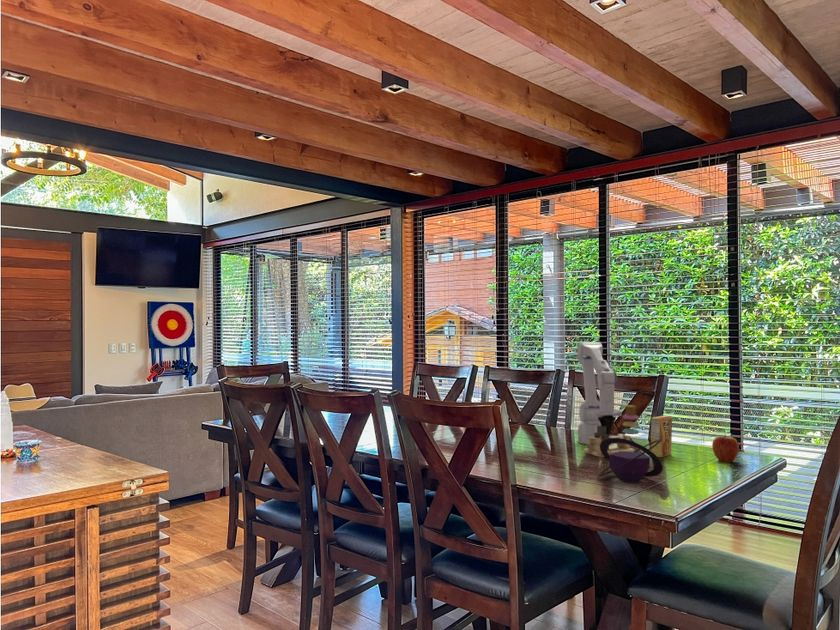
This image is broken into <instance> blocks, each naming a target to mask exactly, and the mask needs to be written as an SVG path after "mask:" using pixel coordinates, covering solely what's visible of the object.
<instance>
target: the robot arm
mask: <svg viewBox="0 0 840 630" xmlns="http://www.w3.org/2000/svg"><path fill="white" fill-rule="evenodd" d="M603 348H604V347H603V345H602V343H601V341H597V342H589V341H587V342H586V341H585V342H582V341H579V343H578V344H577V348H576V349H577V350H576V353H577V360H578V362H579V363H581V367H582V375H583V385H584V387H583V388H584V396H585V397H584V401H582V403H580V405H579V413H578V414H579V415H578V416H579V420H580V423H579V424H578V426H577V440H576V443H579V444H583V445H587V446H588V437H594V433H596V432H597V426H600V425H601V426H606V434H608V435H609V436H610V434H611V431H612V427H613V425H614V423H615V421H616V420H617V419H616V417H623V415H622V414H623V413H622V410H617V409H616V410H615V386H616V384H617V382H618V381H617V380H618V375H617V372H616V371H615V370H613V369H611V366H610V365H609V363H608V361H606V360H605V359H604V357H603V353H604V352H603V350H604V349H603ZM595 374H596V375H597V378H596V376H595ZM596 379H597V385H598V386H597V387H598V389H599V400H598V397H597V388H596Z"/></svg>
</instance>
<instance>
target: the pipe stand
mask: <svg viewBox="0 0 840 630" xmlns="http://www.w3.org/2000/svg"><path fill="white" fill-rule="evenodd" d="M603 438H604V437H600V438H594V437H588V445H587V448H583V453H585V454H588V455H593V456H596V457H599V458H605V457H604V456H603V454H602V452H601V450H600V444H601V442H602V441H603ZM609 438H620V439H626V440H629V441H631V436H630V435H629V434H625V433H618V434H617V435H611V436H610V435H609ZM635 449H636V448H631V445H628V444H624V443H612V444H610V445H609V450H607V452H608V454H609V456H610V454H613V453H615V451H616V452H618V451H626V452H627V451H628V452H634V451H636V450H635Z"/></svg>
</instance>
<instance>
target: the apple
mask: <svg viewBox="0 0 840 630" xmlns="http://www.w3.org/2000/svg"><path fill="white" fill-rule="evenodd" d="M711 448H712V451H713V454H714V456H715V458H716V459H717V460H718V461H720V462H723V461H724V462H723V463H733V461H735V460H736V458H737V456H738V454H739V451H740V446H739V442H738V440H737V439H736V438H734V437H733V436H727V435H726V434H724V436H723V435H722V436H721V435H718V436H716V437H715V438H714V439H713V441H712V447H711Z"/></svg>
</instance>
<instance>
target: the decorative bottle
mask: <svg viewBox="0 0 840 630" xmlns="http://www.w3.org/2000/svg"><path fill="white" fill-rule="evenodd" d="M636 410H637V406H636V405H633V404H626V405H625V414H624V415H622V419H624V420H629V421H624V422H623V423H622V426H624V427H629V428H624V429H623V430H622V434H624V435H638V434H640V431H639V430H638V429H635V428H636V427H639V426H640V424H639V423H638V422H636V421H631V420H639V419H640V417H639V415H637V413H636ZM661 440H662V439H659V440H656V441H653V442H651V441H650V442H649V443H648V444H645V445H641V444H639V443H637V442H635V441H632V440H630V441H629V440H626V439H620V438H609V439H605V440H603V441H602V442H601V444H600V450H601V452H602V454H603V456H604V457H603V458H605V459H606V460H607V461H608V466H607V467H606V468H605V469H604V470H603V471H601V472H600V473H599V474H598V477H603V476H605V475H609V474H610V473H613V474H614V475H615V476H616V478H617V479H618V480H620V481H621V482H623V483H628V484H639V483H640V481H642V479H643V478H645V477H647V478H648V477H649V478H651V477H656V476H657V477H658V475H661V474H662V472H663V469H664V467H663V463H662V461H661V459H660V458H659V457H657V456H656V455H655V454H654V453H652V452H651V449H652V448H653V447H655V446H656V445H657V444H659V443H660V442H661ZM655 442H657V443H656V444H655V445H653V446H652V447H651V444H653V443H655ZM612 443H615V444H617V443H624V444H628V445H630V447H631V446H632V447H633V448H635V449H636V450H635V451H634V452H628V451H627V452H626V451H618V452H616V451H615V453H613V454H610V456H609V454H608V452H607V447H608V446H611V445H613V444H612ZM648 446H650V447H649V448H647V447H648ZM638 451H642V452H638ZM651 460H652V462H653V464H654V468H653V469H652V470H651V471H649V470H650V466H651V465H650V464H651ZM609 469H610V470H609ZM608 470H609V471H608Z"/></svg>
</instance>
